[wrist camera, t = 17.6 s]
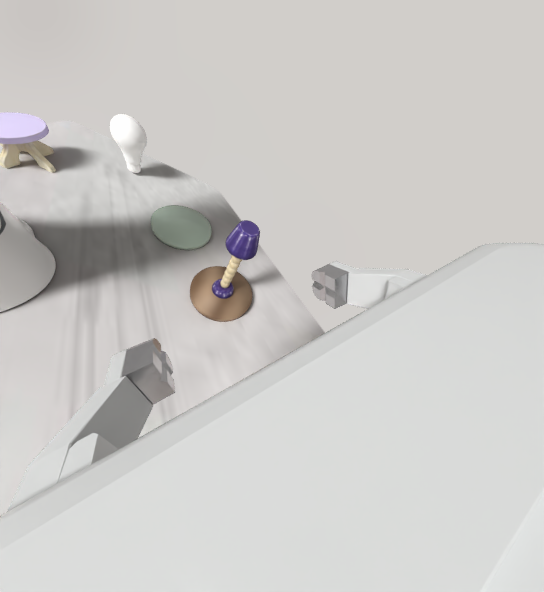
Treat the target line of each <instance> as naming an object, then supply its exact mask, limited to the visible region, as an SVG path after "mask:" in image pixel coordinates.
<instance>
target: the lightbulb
mask: <svg viewBox="0 0 544 592" xmlns="http://www.w3.org/2000/svg"><path fill="white" fill-rule="evenodd" d="M110 131H111V134H112V136H113V138H114V140H115V141H116V143H117V144H118V145H119V147H120V148H121V150H122V152H123V155H124V158H125V160H126V163H127V167H128V169H129V170H130V171H131V172H133V173H139V172H140V171H141V166H140V164H141V155H142V152H143V151H144V149H145V147H146V144H147V137H146V134H145V131H144V129H143V127H142V126H141V125H140V124H139V122H137V121H136V120H135V119H134V118H132V117H130V116H128V115H125V114H119V115H116V116H114V117H113V118H112V120H111V122H110Z"/></svg>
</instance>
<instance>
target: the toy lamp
mask: <svg viewBox="0 0 544 592" xmlns="http://www.w3.org/2000/svg"><path fill="white" fill-rule="evenodd" d="M259 236H260V231H259V228H258V227H257V225H256V224H254V223H253V222H251V221H241V222H240V223H239V224H238V225H237V226H236V227H235V229H234V230H233V231H232V232H231V233H230V235H229V236H228V237H227V239H226V247H227V250H228V251H229V253H230V254H231V255H232V256H231V259H230V261H229V264H228V266H227V269H226V270H225V273H224V275H223V278H222V279H218V280H216V281H215V282H214V283H213V285H212V292H213V293H214V295H215V296H217V297H218V298H221V299H227V298H229V297H231V296H232V294H233V291H234V288H233V285H232V283H231V281H232V278H233V277H234V275H235V273H236V271H237V268H238V267H239V265H240V262H241V261H242V260H248V259H251V258H253V257H254V256H255V255H256V252H257V248H258V242H259Z"/></svg>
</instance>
